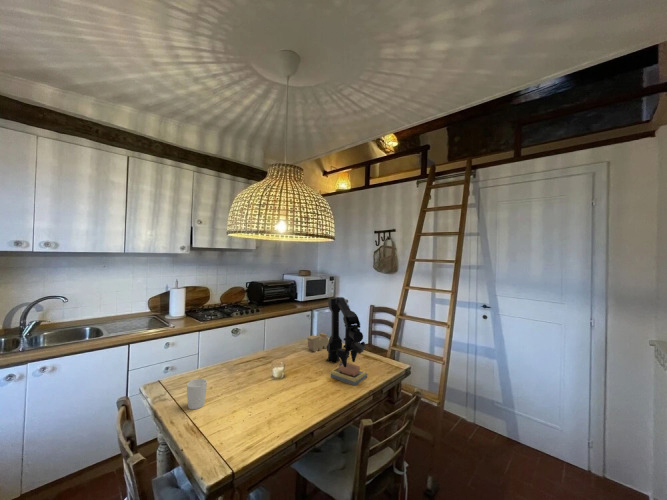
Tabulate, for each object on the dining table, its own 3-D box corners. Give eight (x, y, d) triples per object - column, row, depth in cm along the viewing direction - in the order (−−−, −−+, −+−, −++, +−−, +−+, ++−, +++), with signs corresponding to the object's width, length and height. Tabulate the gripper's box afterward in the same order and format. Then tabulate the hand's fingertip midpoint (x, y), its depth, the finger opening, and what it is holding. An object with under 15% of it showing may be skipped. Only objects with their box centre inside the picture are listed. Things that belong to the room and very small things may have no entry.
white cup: (192, 400, 127) (193, 378, 127) (209, 400, 127) (210, 379, 127) (182, 409, 120) (183, 386, 120) (200, 410, 119) (201, 387, 119)
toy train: (329, 347, 202) (329, 333, 202) (312, 353, 190) (312, 338, 190) (324, 345, 206) (324, 332, 206) (306, 351, 194) (307, 336, 194)
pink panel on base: (338, 372, 156) (338, 363, 156) (344, 369, 161) (344, 360, 161) (354, 378, 150) (354, 368, 150) (359, 374, 155) (359, 364, 155)
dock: (330, 377, 155) (330, 370, 155) (343, 369, 166) (343, 363, 166) (355, 385, 146) (355, 379, 146) (367, 377, 157) (367, 370, 157)
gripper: (354, 344, 143) (353, 374, 143) (370, 335, 159) (369, 362, 159) (336, 339, 150) (335, 368, 150) (353, 331, 165) (353, 358, 165)
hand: (349, 364), depth 156 cm, fingers open, 9 cm apart
